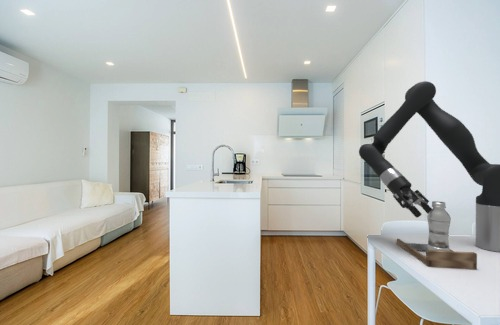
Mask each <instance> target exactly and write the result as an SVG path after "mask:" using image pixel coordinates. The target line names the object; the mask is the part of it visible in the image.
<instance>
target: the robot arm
mask: <svg viewBox="0 0 500 325" xmlns="http://www.w3.org/2000/svg"><path fill="white" fill-rule="evenodd" d="M436 94H437V88H436V85H434V83H432V82H431V81H426V80H424V81H420V82H417V83H415V84H414V85H413V86H411V87H410V88H408V90H406V92H405V94H404V95H405V96H404V102H402V104H401V105H400V107H399V108H398V109H397V110H396V111H395V112H394V113H393V114H392V115H391V116H390V117H389V118H388V119H387V120H386V121H385V122H384V123H383V125H382V126H381V127H380V128H379V129H378V130H377V131H376V133H374V135H373V139H372V140H373V142H372V144H370V143H364V144H363V145H361V146H360V147H359V150H358V154H359V156H360V158H361V159H362V160H363V161H364V162H365V163H366V164H367V165H368V166H369V168H371V169H372V170H373V172H374V173H375V174H376V176H377V177H378V178H379V179H380V180H381V182H382V183H383V185H385V187H386V188H387V189H388V190H389V191H390V192H391V193H392V197H393V198H394V200H395V201H396V202H397V203H398V205H400V207H401V208H403V209H406V210H409V212H410V213H411V214H412V216H414V217H415V218H419V217H421V216H422V215H423V214H422V212H420V210H419V209H418V208H417V207H416V206H415V205H418V206H420V207H421V208H422V209H423V210H424V212H425V213H426V214H427V215H428V213H429V212H430V211H431V210H432V209H433V207H432V206H430V205H429V204H428V203H429V202H430V200H428V199H427V198H426V196H425V195H424V194H422V192H420V190H418V189H416V190H415V191H414V190H413V189H411V187H412V183H411V182H410V180H408V179H407V177H405V176H404V175H403V173H401V172H400V170H398V169H397V168H395V166H394V165H393V164H392V163H391V162H390V161H388V160H387V159H386V158H385V157H384V156H383V155H384V153H385V151H386V150H387V148H388V146H389V145H390V143H391V142H392V141H393V140H394V139H395V138H396V136H397V135H399V133H400V132H401V130H403V128H404V127H405V126H406V124H407V123H408V122H409V121H410V120H411V119H412V118H413V117H414V116H415V115H416V114H418V115H419V116H420V117H421V118H422V120H424V121H425V123H426V124H427V125H428V127H429V128H430V129H431V130H432V131H433V133H435V135H436V136H437V137H438V139H439V140H440V141H441V142H442V143H443V144H444V146H445V147H447V149H448V150H449V151H450V153H452V154H453V155H454V156H455V158H457V160H458V161H459V163H461V165H462V166H463V167H464V169H465V171H466V172H467V173H468V175H469V176H470V178H471V179H472V181H473V182H475V183H476V184H477V185H479V186H482V189H481V193H480V194H479V195H477V196H476V197H475V244H474V245H475V246H476V247H478V248H480V249H483V250H487V251H492V252H496V253H500V164H496V163H495V164H492V163H489V162H488V160H487V159H485V158H484V157H483V155H481V153H480V152H479V151H478V148H477V146H476V142H475V138H474V136H473V134H472V133H471V131H470V130H469V129H468V128H467V127H466V125H465V124H464V123H463V122H462V121H461V120H459V119H458V118H456V117H455V116H454V115H452V114H450V112H449V113H448V112H447V111H445V110H444V109H442V108H441V107H440V106H439V104H437V103H436V102H435V100H434V99H435V98H434V97H435V96H436Z"/></svg>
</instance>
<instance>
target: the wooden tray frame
mask: <svg viewBox="0 0 500 325" xmlns="http://www.w3.org/2000/svg"><path fill="white" fill-rule="evenodd" d="M396 245H398V246H400V247H401V248H402V249H403V250H405V251H406V252H407V253H409V254H411V255H412V256H413V257H414V258H415V259H417V260H419V261H420V262H421V263H422V264H424V265H425V266H427V267H430V268H442V269H443V268H444V269H445V268H446V269H447V268H448V269H463V270H464V269H465V270H477V269H478V267H477V266H478V254H477V253H476V252H474V251H473V252H472V251H455V250H453V249H450V251H438V250H426V249H427V245H428V243H415V242H414V243H412V242H409V243H408V242H404V241H403V240H402V239H400V238H396ZM421 252H423V253H424V252H425V253H426V254H422V253H421Z"/></svg>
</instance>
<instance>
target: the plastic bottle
mask: <svg viewBox="0 0 500 325" xmlns="http://www.w3.org/2000/svg"><path fill="white" fill-rule="evenodd" d="M431 208H432V210H431V211H430V212H429V213H428V214H427V216H426V217H427V225H428V238H427V239H428V241H427V244H428V245H427V249H426V250H438V251H450V243H449V233H450V232H449V231H450V225H451V220H452V218H451V215H450V214H449V212H448V211H447V210H446V208H447V207H446V202H445V201H438V200H435V201H434V200H433V201H431Z"/></svg>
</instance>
